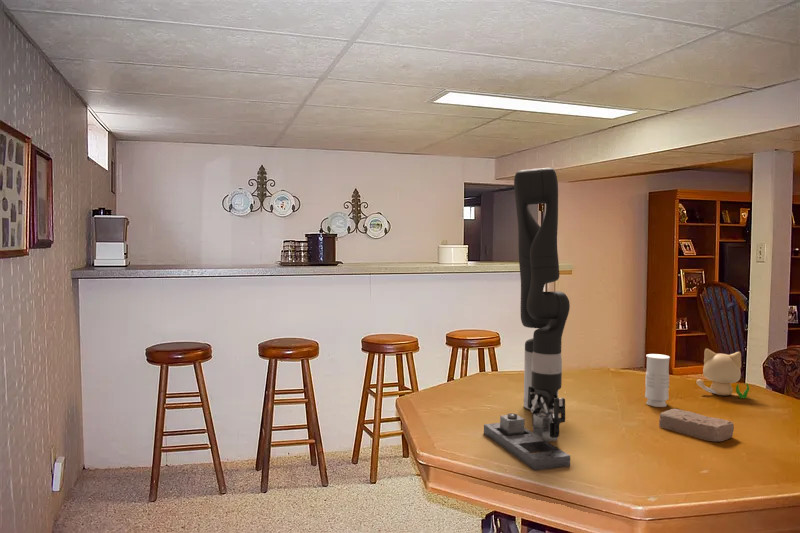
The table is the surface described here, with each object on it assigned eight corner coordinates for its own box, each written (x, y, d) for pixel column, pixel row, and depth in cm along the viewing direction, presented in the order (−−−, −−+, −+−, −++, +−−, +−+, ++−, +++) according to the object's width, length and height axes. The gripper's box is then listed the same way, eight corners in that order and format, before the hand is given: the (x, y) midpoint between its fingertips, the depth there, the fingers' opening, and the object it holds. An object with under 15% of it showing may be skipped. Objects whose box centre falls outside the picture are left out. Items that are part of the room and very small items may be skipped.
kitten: (749, 394, 201) (751, 349, 200) (747, 401, 192) (749, 354, 191) (699, 388, 209) (701, 344, 208) (695, 394, 200) (697, 349, 199)
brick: (657, 427, 167) (657, 410, 166) (674, 422, 172) (674, 405, 171) (718, 445, 153) (718, 427, 153) (734, 439, 158) (735, 421, 158)
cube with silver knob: (548, 434, 159) (548, 409, 159) (557, 440, 155) (558, 414, 155) (533, 436, 158) (533, 411, 158) (542, 442, 154) (542, 416, 153)
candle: (644, 405, 187) (645, 357, 186) (644, 400, 193) (646, 353, 192) (668, 408, 184) (670, 359, 183) (668, 402, 191) (669, 355, 190)
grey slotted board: (514, 430, 163) (514, 421, 163) (570, 466, 138) (570, 455, 138) (483, 433, 160) (483, 424, 160) (534, 470, 135) (535, 459, 135)
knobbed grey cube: (515, 436, 158) (516, 411, 157) (524, 442, 153) (524, 416, 153) (499, 438, 156) (500, 412, 156) (508, 444, 152) (508, 418, 151)
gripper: (575, 374, 150) (573, 439, 151) (544, 362, 163) (543, 422, 164) (548, 376, 148) (547, 442, 148) (519, 364, 161) (518, 424, 162)
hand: (545, 432), depth 156 cm, fingers open, 8 cm apart
